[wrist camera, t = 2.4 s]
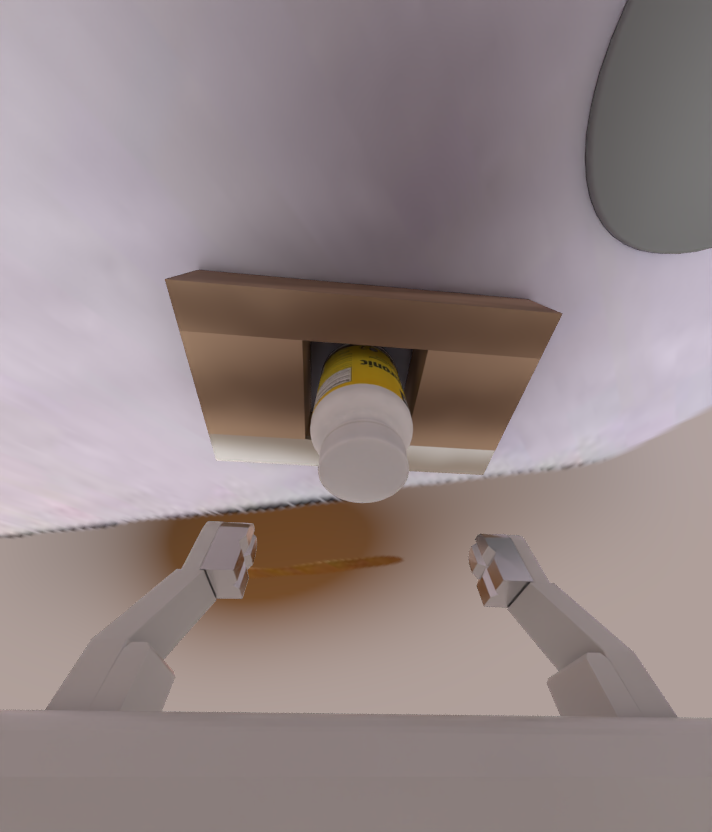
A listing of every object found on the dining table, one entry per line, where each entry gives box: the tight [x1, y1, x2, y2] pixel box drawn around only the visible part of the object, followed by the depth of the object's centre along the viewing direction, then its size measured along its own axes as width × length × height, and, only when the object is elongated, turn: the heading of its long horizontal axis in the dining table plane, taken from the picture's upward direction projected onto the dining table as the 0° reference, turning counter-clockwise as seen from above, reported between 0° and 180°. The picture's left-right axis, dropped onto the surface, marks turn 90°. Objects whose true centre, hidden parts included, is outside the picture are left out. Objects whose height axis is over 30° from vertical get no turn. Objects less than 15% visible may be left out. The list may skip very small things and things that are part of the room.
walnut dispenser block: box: [165, 270, 562, 475], centre depth 19 cm, size 12×20×3 cm, turn 85°
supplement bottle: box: [310, 344, 413, 503], centre depth 16 cm, size 5×5×10 cm
